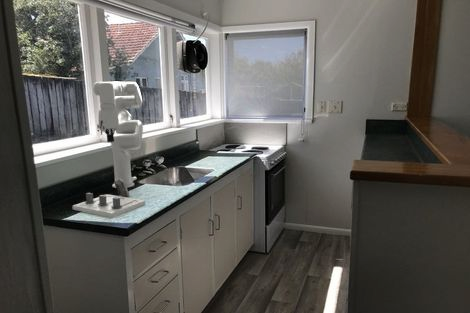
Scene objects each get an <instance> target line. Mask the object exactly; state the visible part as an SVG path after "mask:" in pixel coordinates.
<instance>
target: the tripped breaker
mask: <svg viewBox="0 0 470 313" xmlns="http://www.w3.org/2000/svg"><path fill="white" fill-rule="evenodd" d="M121 207H122V206H120V198H117V197H114V198H113V206H111V208H116V209H118V208H121Z"/></svg>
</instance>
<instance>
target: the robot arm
mask: <svg viewBox="0 0 470 313" xmlns="http://www.w3.org/2000/svg"><path fill="white" fill-rule="evenodd" d="M92 87H93V89H92V92H93V93H94V95H95V96H96V97H99V105H100V106H99V108H100V109H98V110H99V111H98V128H99V129H100V132H102V133H105V135H106V141H107V143H110V145H111V149H112V150H111V151H112V156H113V158H112V159H113V169H114V170H113V172H114V182H115V181H117V180H119V179H118V178H120V179H122V180H123V181H124V182H125V184H126V187H127V189H128V188H131V187H134V186H135V182H134V181H136V180H137V177H136V176H132V172H131V171H132V170H131V156H130V154H129V153H128V152H127V151H128V150H139V149H140V148H141V147H142V140H143V132H144V131H143V130H144V127H143V122H142V121H140V120H138V119H133V118H132V117H133V116H132V114H131V113H130V112H129V111H128V110H127V109H140V108H142V106H143V98H142V94H141V90H140V88H139V85H138V84H137V82H136V81H118V80H117V81H96V82H95V83H94V84H93V86H92ZM132 119H133V120H132ZM112 188H115V189H117V188H116V186H115V183H113V184H112Z"/></svg>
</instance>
